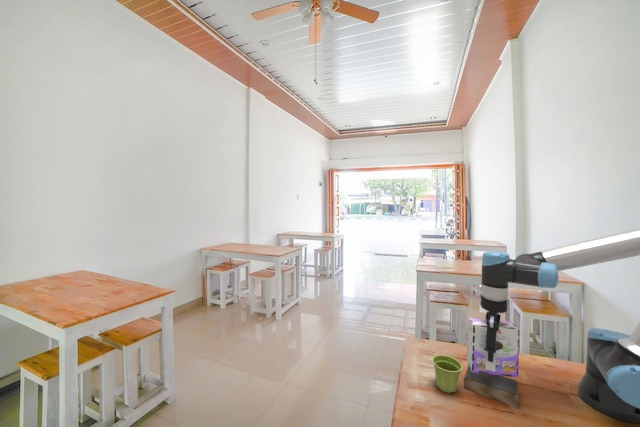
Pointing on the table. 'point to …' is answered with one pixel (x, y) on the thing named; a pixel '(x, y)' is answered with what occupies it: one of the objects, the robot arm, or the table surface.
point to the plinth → (493, 387)
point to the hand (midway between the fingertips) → (491, 363)
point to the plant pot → (447, 372)
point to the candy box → (504, 348)
